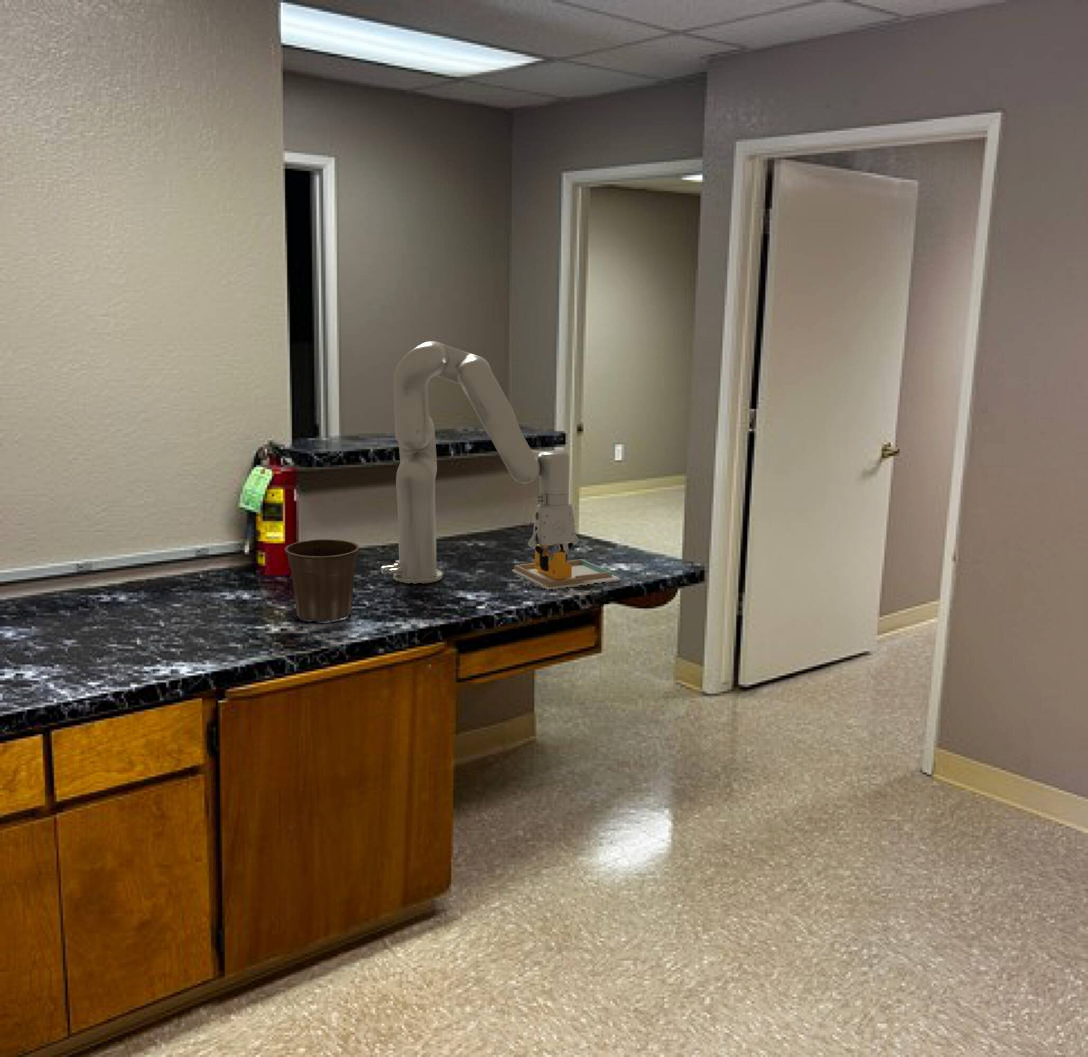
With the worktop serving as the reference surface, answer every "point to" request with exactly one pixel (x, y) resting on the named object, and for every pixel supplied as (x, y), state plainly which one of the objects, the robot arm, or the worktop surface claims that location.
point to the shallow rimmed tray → (580, 576)
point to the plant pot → (322, 577)
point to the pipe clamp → (555, 565)
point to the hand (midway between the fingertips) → (553, 568)
